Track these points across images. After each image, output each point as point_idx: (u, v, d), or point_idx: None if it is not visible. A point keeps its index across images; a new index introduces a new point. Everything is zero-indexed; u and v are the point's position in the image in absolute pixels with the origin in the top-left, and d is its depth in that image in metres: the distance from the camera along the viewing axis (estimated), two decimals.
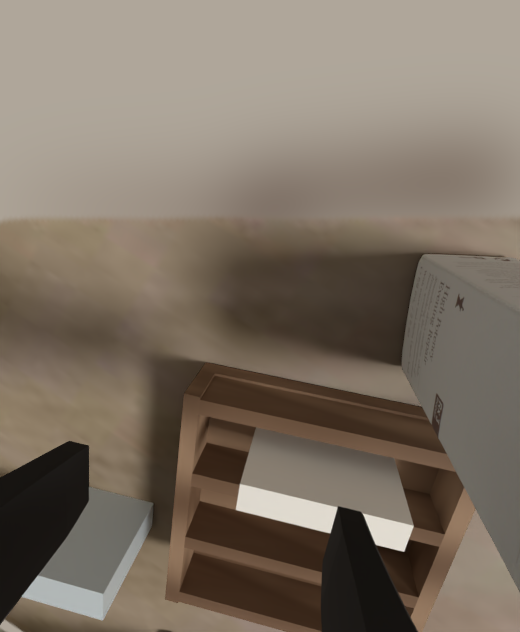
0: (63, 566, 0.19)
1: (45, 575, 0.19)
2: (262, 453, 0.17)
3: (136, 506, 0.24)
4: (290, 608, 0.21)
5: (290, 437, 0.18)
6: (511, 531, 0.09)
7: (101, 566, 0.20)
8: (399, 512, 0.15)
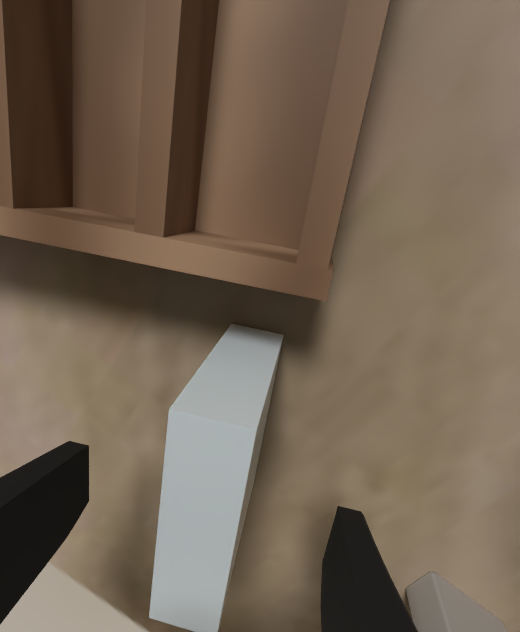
0: None
1: (159, 516, 0.09)
2: None
3: None
4: None
5: None
6: None
7: None
8: None
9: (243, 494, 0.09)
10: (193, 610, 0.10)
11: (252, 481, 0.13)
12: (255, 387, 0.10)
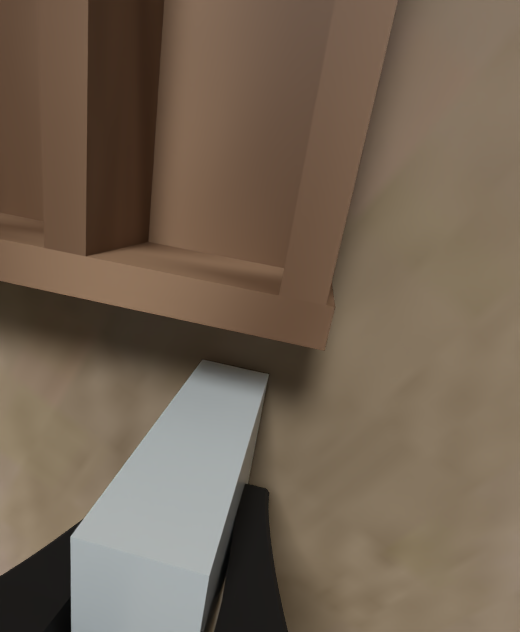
0: None
1: None
2: None
3: None
4: None
5: None
6: None
7: None
8: None
9: None
10: None
11: None
12: (219, 475, 0.07)
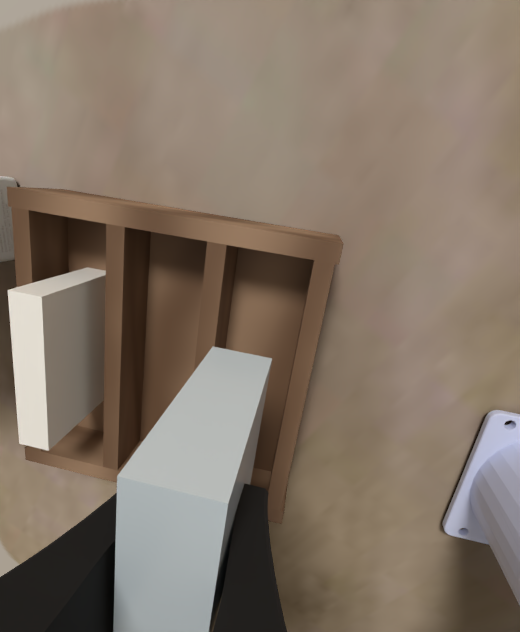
0: None
1: (116, 599, 0.07)
2: None
3: None
4: None
5: None
6: None
7: None
8: None
9: (216, 577, 0.07)
10: None
11: None
12: (232, 435, 0.08)
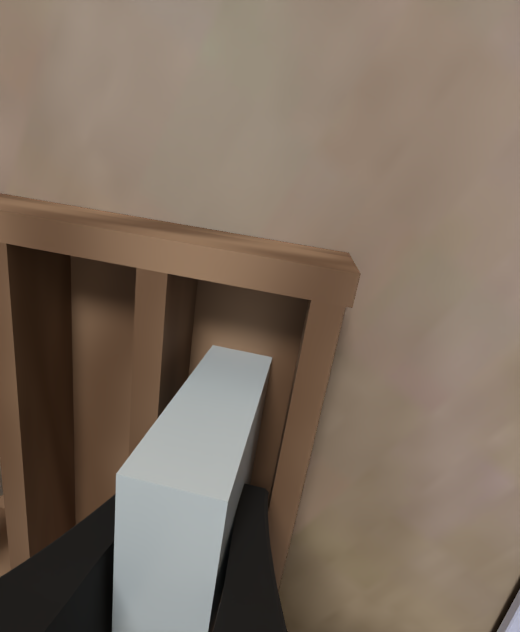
0: None
1: (115, 598, 0.07)
2: None
3: None
4: None
5: None
6: None
7: None
8: None
9: (215, 576, 0.07)
10: None
11: None
12: (232, 433, 0.08)
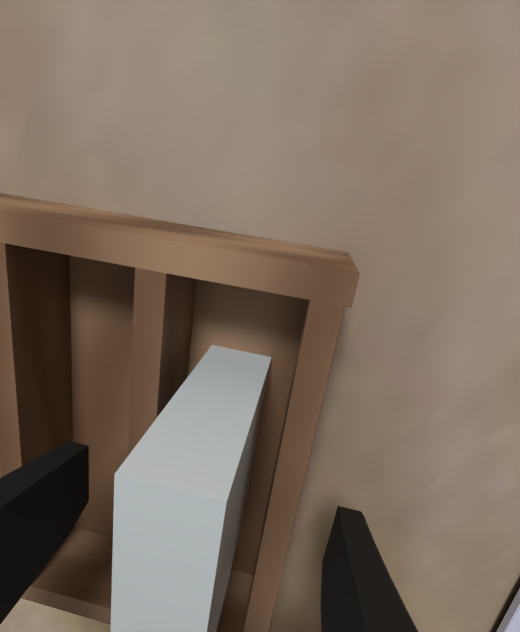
0: None
1: (113, 598, 0.07)
2: None
3: None
4: (273, 479, 0.11)
5: None
6: None
7: None
8: None
9: (214, 577, 0.07)
10: None
11: (237, 529, 0.11)
12: (231, 433, 0.08)
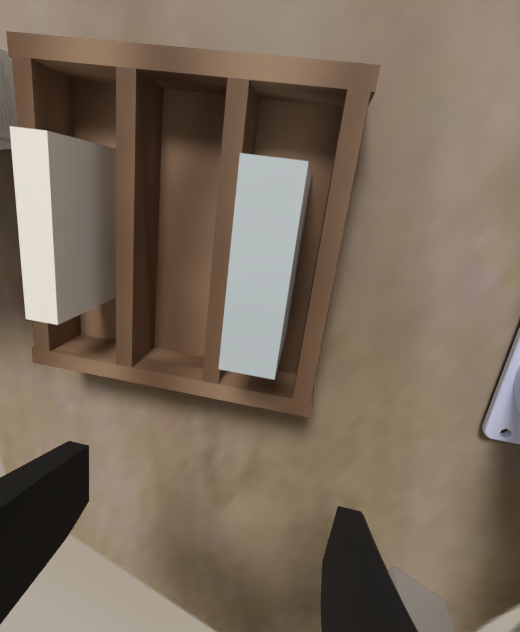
0: None
1: (229, 263, 0.12)
2: None
3: None
4: (317, 255, 0.15)
5: None
6: None
7: None
8: None
9: (297, 227, 0.11)
10: (255, 353, 0.12)
11: (291, 296, 0.15)
12: None
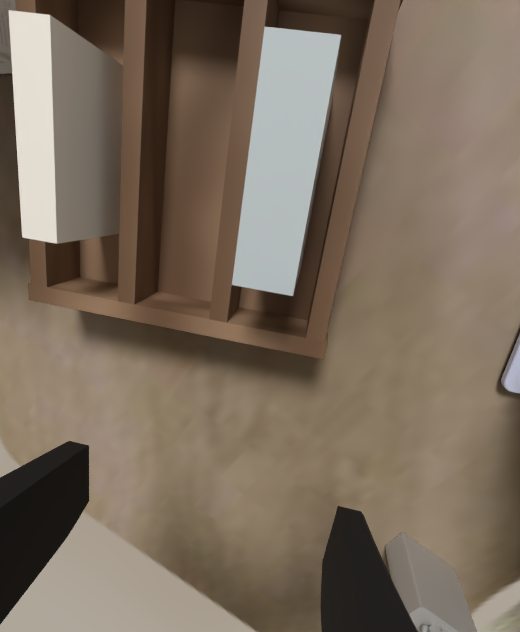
0: None
1: (248, 161, 0.11)
2: None
3: None
4: (337, 179, 0.14)
5: None
6: None
7: None
8: None
9: (325, 116, 0.10)
10: (273, 265, 0.11)
11: (308, 224, 0.14)
12: None
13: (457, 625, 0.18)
